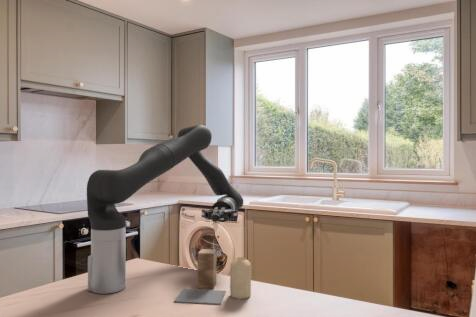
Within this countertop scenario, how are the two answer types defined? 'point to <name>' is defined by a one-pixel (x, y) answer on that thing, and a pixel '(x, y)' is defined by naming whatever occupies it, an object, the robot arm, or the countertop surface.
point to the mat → (200, 296)
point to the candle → (240, 278)
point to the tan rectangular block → (207, 268)
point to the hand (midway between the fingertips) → (214, 218)
